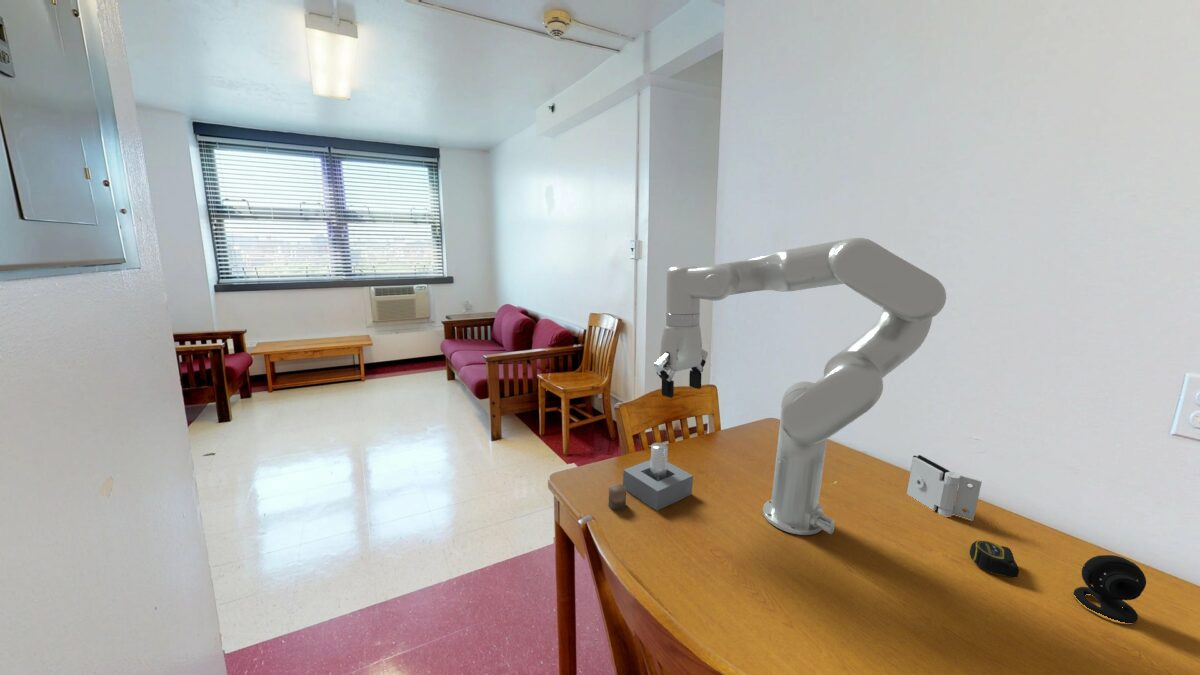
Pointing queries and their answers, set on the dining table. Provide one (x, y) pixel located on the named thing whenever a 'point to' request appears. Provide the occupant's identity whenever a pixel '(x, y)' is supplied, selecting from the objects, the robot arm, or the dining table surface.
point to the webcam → (1112, 586)
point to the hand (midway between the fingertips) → (681, 391)
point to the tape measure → (994, 558)
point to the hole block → (657, 485)
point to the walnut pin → (617, 497)
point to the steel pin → (658, 461)
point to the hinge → (942, 488)
